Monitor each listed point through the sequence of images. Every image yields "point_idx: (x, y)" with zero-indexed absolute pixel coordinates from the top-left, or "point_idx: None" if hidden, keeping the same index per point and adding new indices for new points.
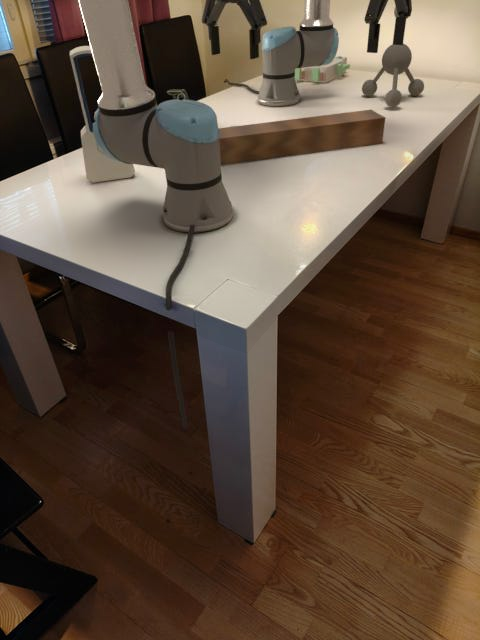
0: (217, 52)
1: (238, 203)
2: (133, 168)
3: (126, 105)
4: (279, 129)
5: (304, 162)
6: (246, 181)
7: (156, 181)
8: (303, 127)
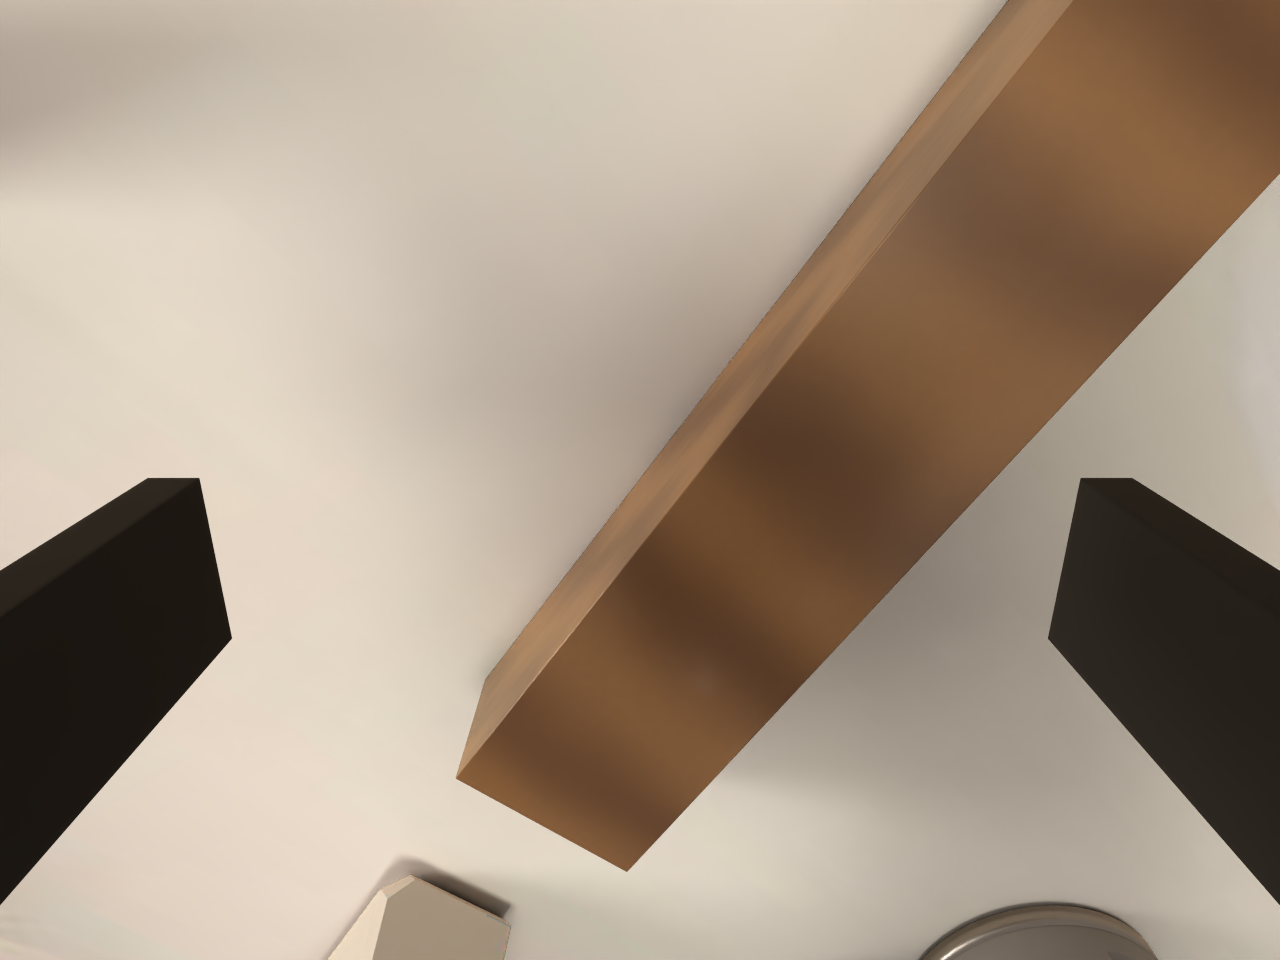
0: (198, 557)
1: (1106, 860)
2: (506, 944)
3: None
4: (1076, 344)
5: (1197, 322)
6: (1015, 693)
7: (633, 887)
8: (1245, 194)
